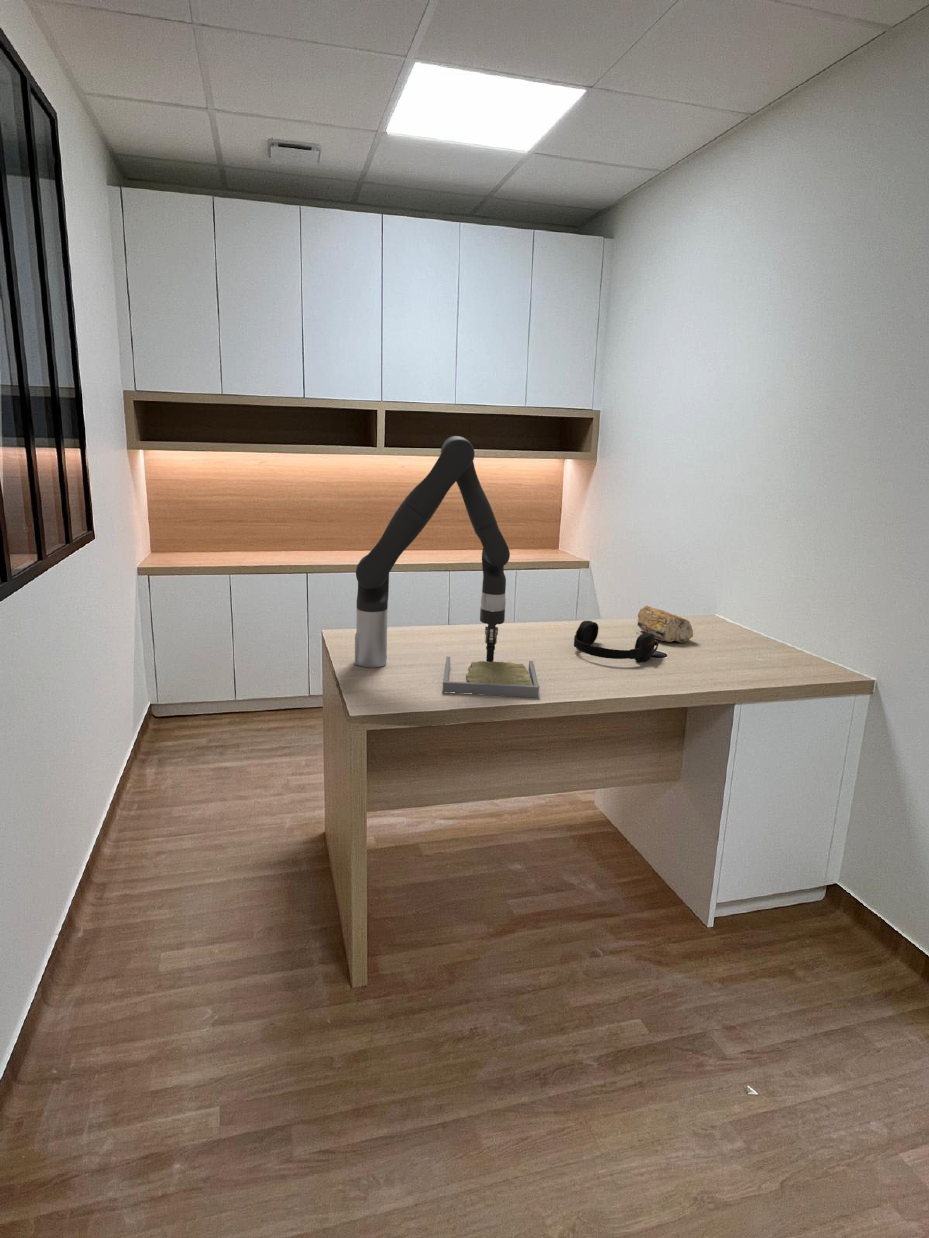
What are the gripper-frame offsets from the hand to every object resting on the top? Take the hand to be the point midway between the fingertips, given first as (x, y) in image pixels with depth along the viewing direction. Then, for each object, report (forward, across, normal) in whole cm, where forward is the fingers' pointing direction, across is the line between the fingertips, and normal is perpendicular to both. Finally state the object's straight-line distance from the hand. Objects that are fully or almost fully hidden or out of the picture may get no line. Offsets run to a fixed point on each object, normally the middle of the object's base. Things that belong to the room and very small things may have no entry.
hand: (489, 661), depth 229 cm
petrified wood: (+2, -44, +62) cm, 76 cm away
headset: (+2, -20, +42) cm, 47 cm away
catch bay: (+1, +14, 0) cm, 14 cm away
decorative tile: (+2, +15, +2) cm, 15 cm away
